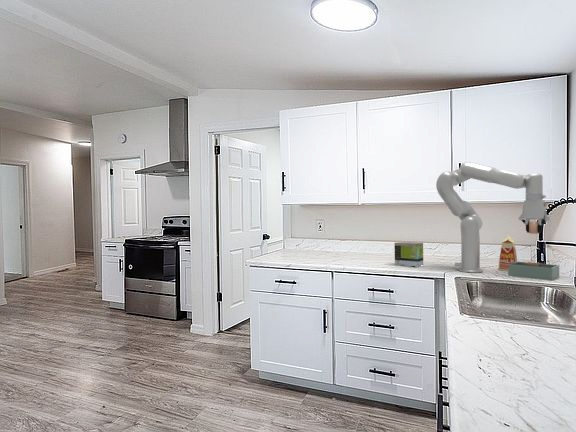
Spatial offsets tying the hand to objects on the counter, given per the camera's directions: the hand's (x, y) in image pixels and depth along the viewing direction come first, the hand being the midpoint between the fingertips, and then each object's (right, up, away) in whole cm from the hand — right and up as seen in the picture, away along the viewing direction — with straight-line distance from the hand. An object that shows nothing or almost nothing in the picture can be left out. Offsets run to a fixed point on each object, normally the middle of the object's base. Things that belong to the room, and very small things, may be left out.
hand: (533, 232), depth 203 cm
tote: (0, -23, +1) cm, 23 cm away
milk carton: (-2, -23, +21) cm, 31 cm away
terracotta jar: (0, -1, 0) cm, 1 cm away
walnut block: (0, -22, +1) cm, 22 cm away
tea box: (-52, -23, +42) cm, 71 cm away
